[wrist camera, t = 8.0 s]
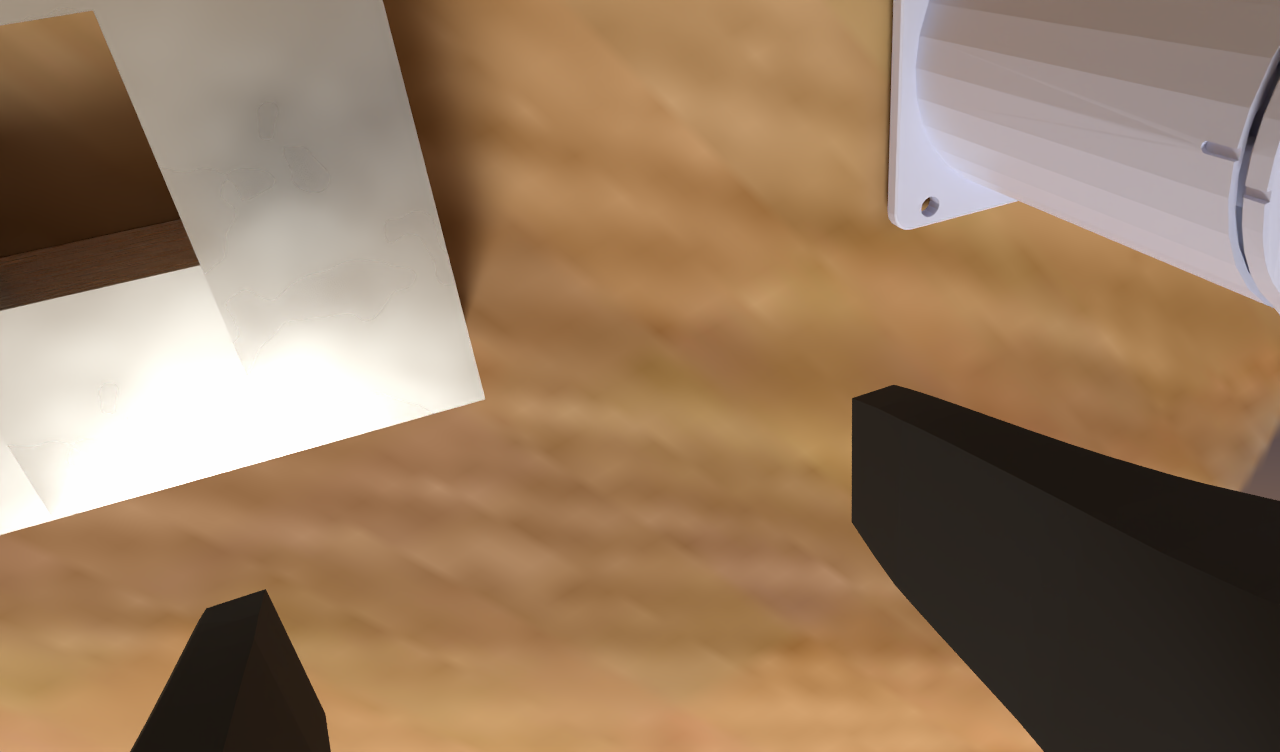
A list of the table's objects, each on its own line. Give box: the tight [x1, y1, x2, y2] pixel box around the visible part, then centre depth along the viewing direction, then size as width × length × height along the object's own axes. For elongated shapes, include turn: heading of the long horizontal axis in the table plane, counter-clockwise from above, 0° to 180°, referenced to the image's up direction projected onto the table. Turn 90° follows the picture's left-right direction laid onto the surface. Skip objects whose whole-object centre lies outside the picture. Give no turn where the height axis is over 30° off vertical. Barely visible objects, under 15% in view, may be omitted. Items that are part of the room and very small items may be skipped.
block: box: [0, 0, 485, 535], centre depth 14 cm, size 12×12×3 cm
